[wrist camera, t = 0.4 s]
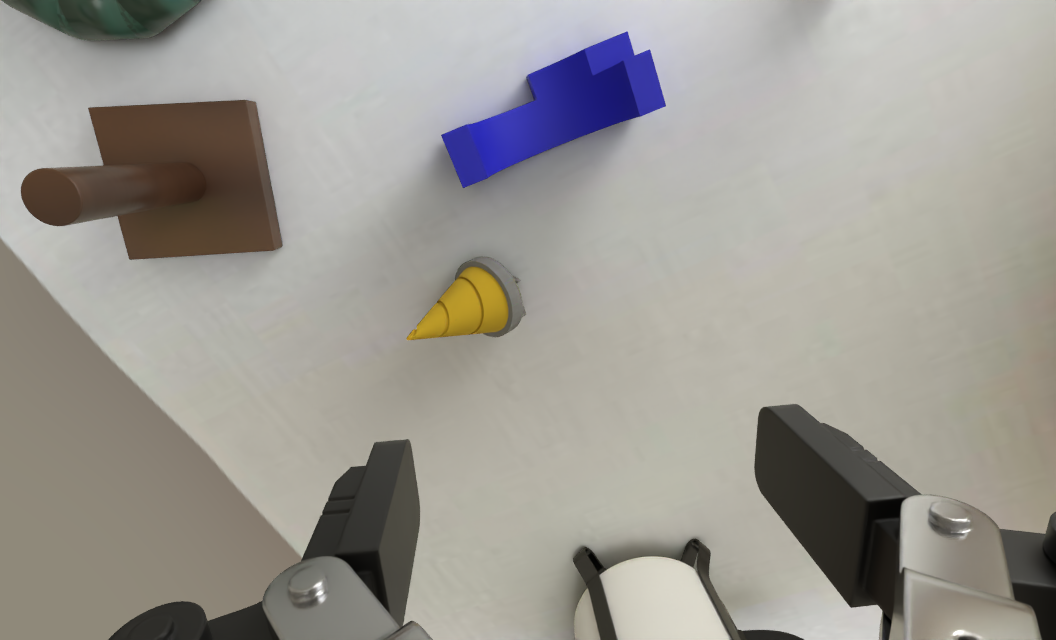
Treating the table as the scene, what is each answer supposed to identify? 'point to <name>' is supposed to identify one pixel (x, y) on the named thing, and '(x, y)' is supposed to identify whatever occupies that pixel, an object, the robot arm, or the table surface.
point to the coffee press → (656, 601)
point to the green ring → (105, 16)
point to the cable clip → (560, 108)
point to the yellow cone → (475, 303)
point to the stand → (169, 180)
